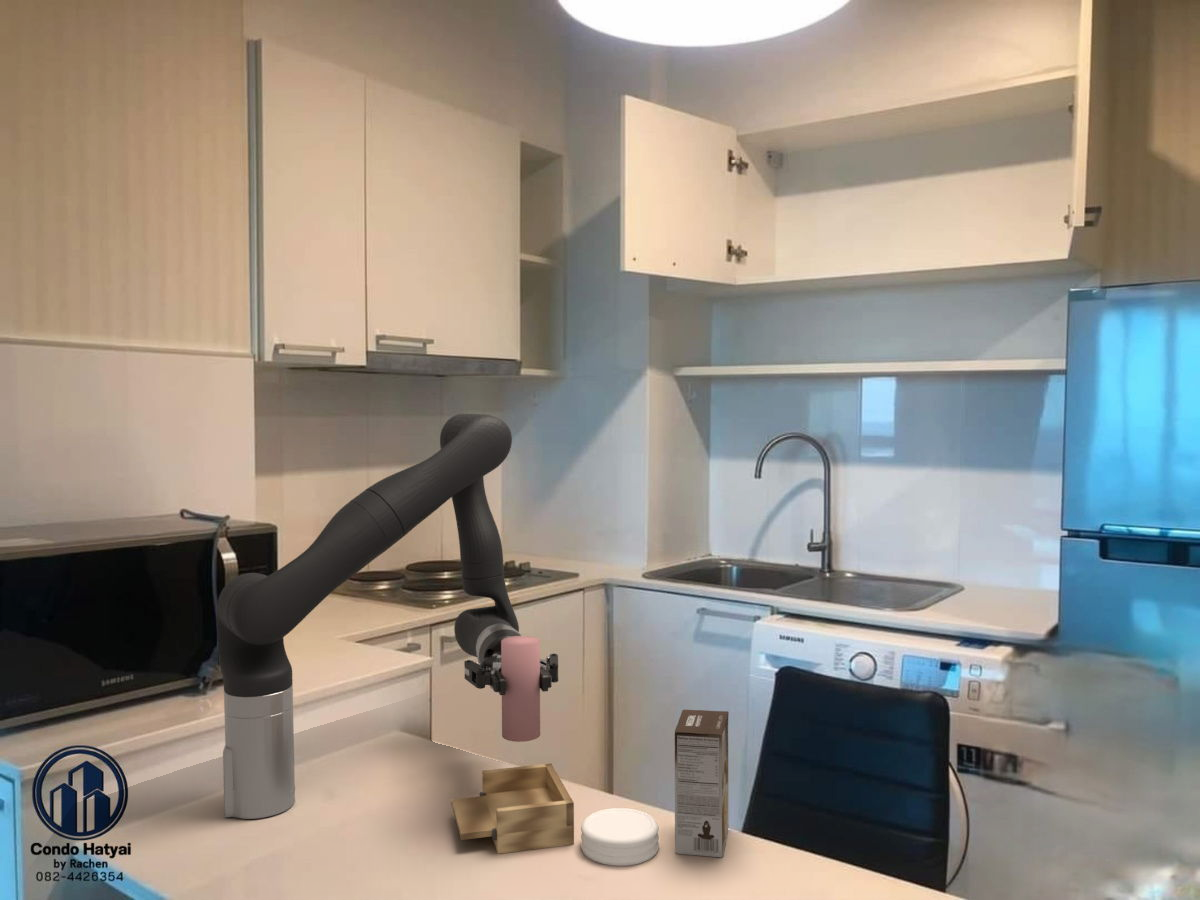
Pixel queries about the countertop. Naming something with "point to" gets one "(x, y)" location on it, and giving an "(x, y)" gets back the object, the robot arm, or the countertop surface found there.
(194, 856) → the countertop surface
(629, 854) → the white round ridged container
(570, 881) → the countertop surface
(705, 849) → the coffee box
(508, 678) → the pink pillar candle
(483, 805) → the box
